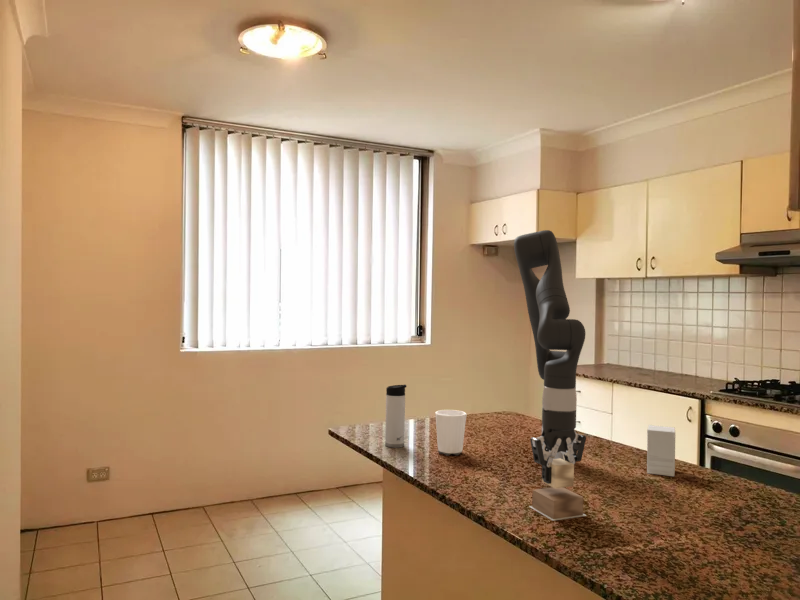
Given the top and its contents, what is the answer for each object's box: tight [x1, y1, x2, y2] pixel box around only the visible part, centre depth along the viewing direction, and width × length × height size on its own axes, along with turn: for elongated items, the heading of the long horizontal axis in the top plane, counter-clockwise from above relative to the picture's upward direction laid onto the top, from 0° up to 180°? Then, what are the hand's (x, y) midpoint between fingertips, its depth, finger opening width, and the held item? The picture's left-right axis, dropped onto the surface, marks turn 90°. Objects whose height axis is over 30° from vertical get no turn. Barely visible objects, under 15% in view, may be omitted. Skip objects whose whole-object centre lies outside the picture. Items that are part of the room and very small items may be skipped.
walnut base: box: [531, 486, 584, 519], centre depth 138 cm, size 8×8×4 cm
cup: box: [434, 409, 467, 457], centre depth 190 cm, size 10×10×13 cm
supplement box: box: [646, 424, 676, 477], centre depth 174 cm, size 7×7×13 cm
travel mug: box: [384, 384, 407, 449], centre depth 198 cm, size 6×7×20 cm
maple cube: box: [541, 458, 575, 488], centre depth 137 cm, size 5×5×5 cm
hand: (557, 481), depth 138 cm, fingers closed on maple cube, 5 cm apart
